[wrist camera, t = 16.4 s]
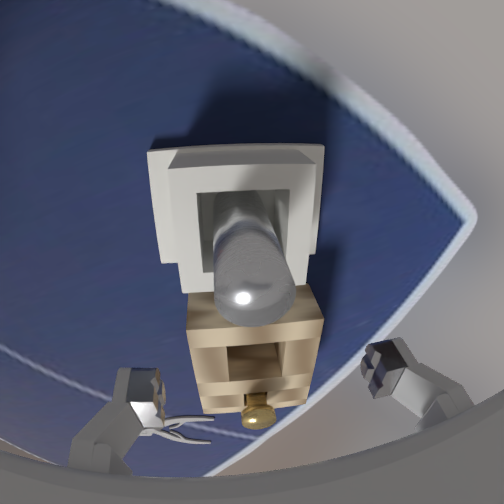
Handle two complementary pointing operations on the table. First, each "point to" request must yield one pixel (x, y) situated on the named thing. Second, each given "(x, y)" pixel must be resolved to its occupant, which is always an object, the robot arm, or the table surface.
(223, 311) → the grey rounded cylinder
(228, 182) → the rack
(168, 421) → the pliers
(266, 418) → the key
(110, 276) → the table surface
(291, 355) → the socket block
